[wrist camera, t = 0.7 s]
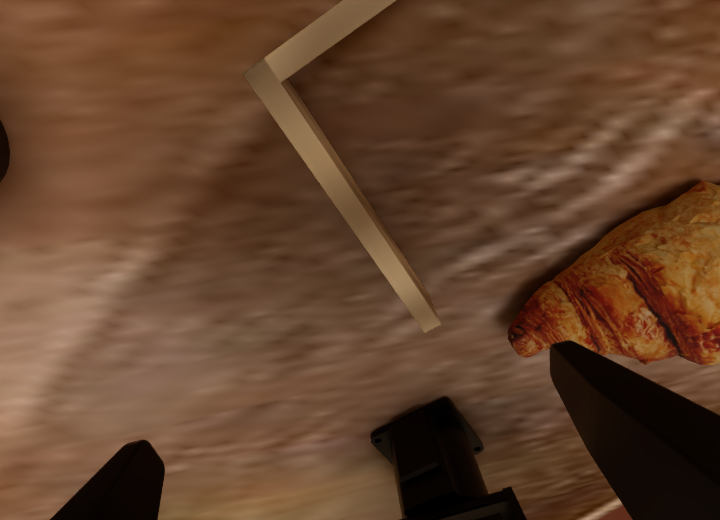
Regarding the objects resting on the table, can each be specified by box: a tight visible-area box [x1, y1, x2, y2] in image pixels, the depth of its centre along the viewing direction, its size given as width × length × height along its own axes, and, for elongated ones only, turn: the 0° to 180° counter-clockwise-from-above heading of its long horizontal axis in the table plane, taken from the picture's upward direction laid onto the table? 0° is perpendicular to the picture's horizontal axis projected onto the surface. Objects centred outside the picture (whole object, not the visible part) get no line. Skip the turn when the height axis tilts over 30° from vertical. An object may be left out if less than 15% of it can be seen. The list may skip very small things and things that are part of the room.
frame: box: [243, 0, 441, 333], centre depth 17 cm, size 15×28×4 cm, turn 122°
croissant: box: [508, 181, 720, 365], centre depth 23 cm, size 21×10×8 cm, turn 113°
